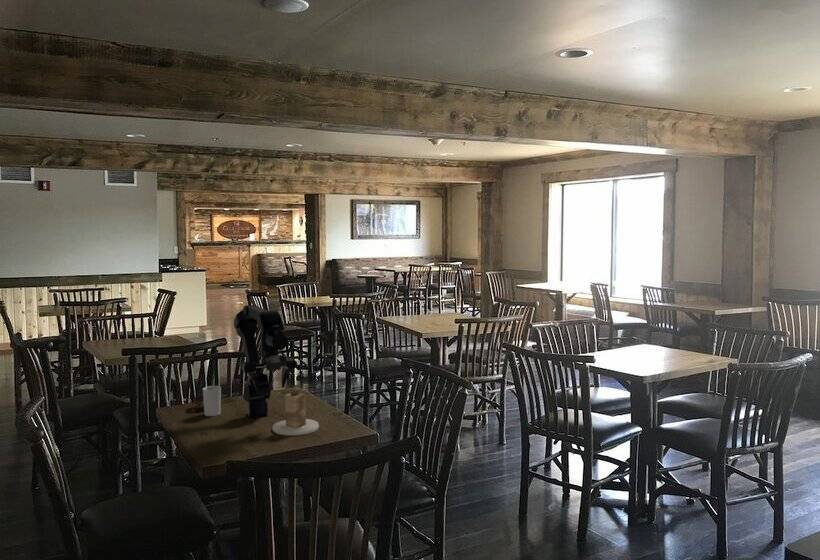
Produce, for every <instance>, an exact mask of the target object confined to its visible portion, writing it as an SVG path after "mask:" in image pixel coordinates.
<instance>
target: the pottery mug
mask: <svg viewBox="0 0 820 560" xmlns="http://www.w3.org/2000/svg"><path fill="white" fill-rule="evenodd" d="M222 395H223V392H222V391H221V398H222ZM201 400H202V401H204V399H203V391H202V392H200V393H199V394H198V396H195V397H194V398H193V401H194V405H197V406H198V407H200V406H202V401H201Z"/></svg>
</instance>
